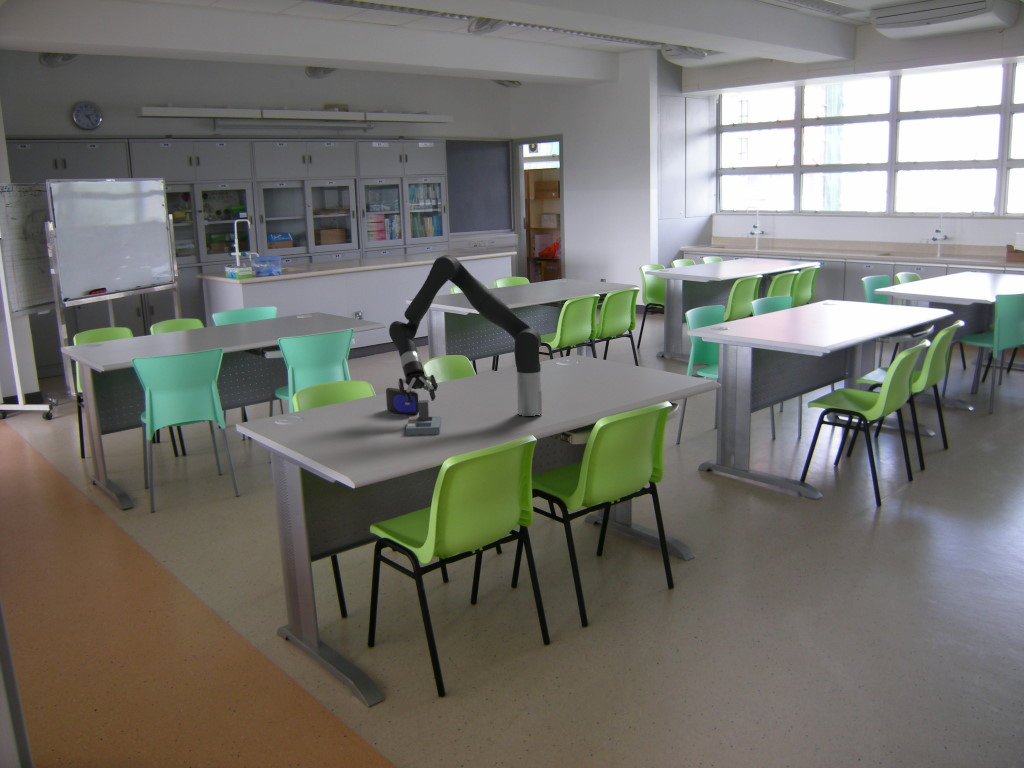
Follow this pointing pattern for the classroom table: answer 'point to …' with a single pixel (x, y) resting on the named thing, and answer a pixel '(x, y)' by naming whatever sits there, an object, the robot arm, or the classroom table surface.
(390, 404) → the leaning round-cornered charcoal block
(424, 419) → the dark gray upright block
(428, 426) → the socket strip
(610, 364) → the classroom table surface
